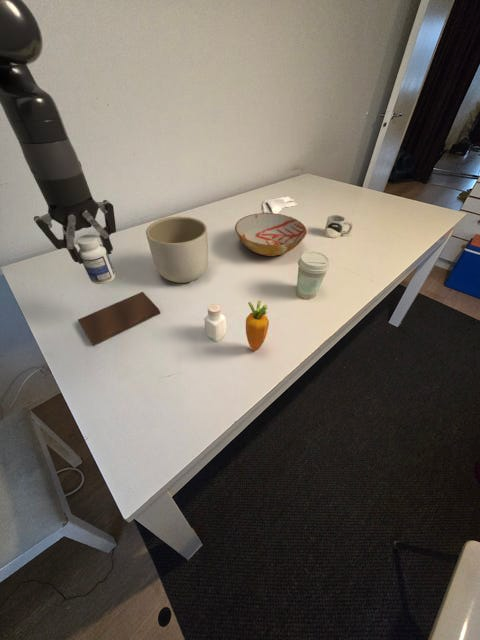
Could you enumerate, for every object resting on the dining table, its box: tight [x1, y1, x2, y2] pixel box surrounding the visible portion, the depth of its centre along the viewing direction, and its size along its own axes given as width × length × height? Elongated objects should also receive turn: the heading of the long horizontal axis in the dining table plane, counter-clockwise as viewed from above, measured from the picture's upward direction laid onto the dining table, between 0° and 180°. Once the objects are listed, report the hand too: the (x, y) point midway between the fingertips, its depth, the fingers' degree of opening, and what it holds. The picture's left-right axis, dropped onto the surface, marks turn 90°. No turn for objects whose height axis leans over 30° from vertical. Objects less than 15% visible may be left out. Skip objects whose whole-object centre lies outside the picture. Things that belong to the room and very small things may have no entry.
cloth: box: [262, 196, 298, 214], centre depth 125 cm, size 26×14×2 cm, turn 135°
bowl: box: [234, 212, 308, 257], centre depth 94 cm, size 25×25×8 cm
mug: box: [323, 214, 354, 239], centre depth 103 cm, size 10×7×7 cm, turn 76°
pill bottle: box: [76, 234, 116, 285], centre depth 57 cm, size 5×5×10 cm
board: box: [77, 291, 161, 347], centre depth 69 cm, size 18×10×2 cm, turn 131°
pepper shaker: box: [203, 302, 227, 342], centre depth 63 cm, size 4×4×10 cm
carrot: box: [245, 300, 270, 352], centre depth 58 cm, size 5×5×15 cm
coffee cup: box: [296, 251, 330, 300], centre depth 75 cm, size 8×8×12 cm
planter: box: [145, 216, 209, 284], centre depth 80 cm, size 17×17×15 cm
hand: (94, 257), depth 56 cm, fingers closed on pill bottle, 5 cm apart
